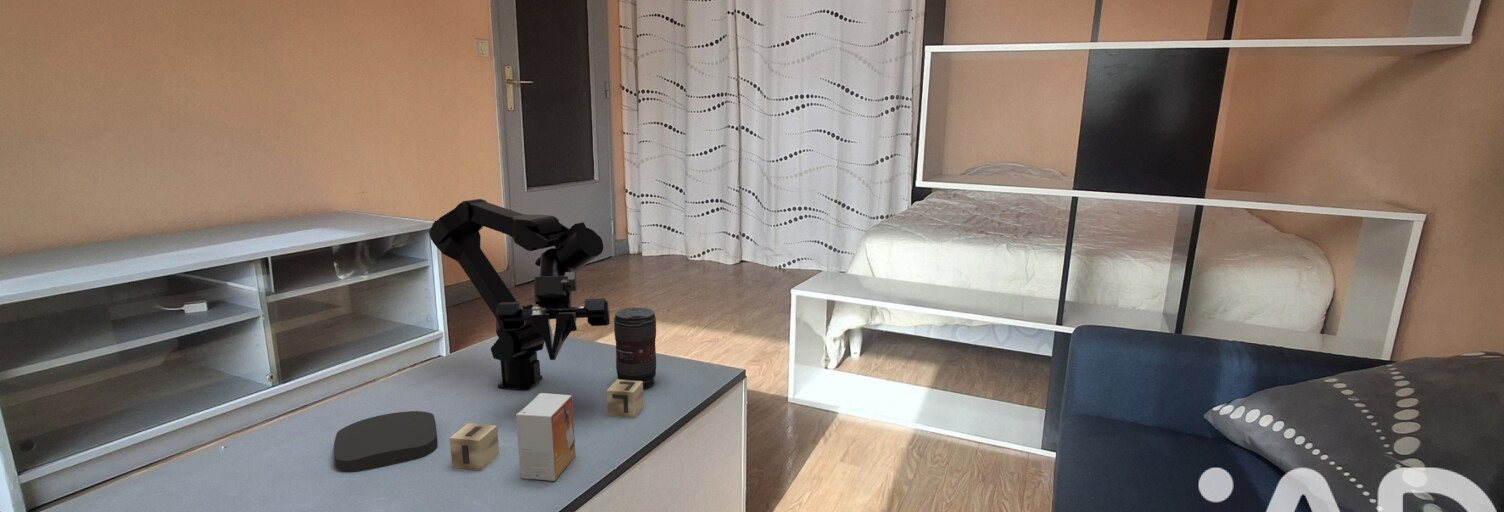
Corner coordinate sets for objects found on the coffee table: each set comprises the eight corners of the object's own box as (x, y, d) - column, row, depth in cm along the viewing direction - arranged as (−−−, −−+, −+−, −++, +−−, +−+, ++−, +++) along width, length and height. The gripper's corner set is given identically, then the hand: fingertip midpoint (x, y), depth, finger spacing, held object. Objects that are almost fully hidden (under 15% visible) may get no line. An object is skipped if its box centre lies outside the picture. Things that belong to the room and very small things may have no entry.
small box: (555, 482, 101) (550, 417, 99) (519, 479, 102) (514, 414, 99) (576, 455, 109) (573, 394, 106) (543, 452, 109) (539, 391, 107)
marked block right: (607, 416, 122) (606, 389, 121) (618, 404, 127) (617, 378, 126) (634, 418, 121) (633, 392, 120) (643, 406, 126) (642, 380, 125)
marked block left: (451, 468, 105) (448, 437, 104) (470, 451, 110) (468, 422, 109) (481, 471, 104) (478, 440, 103) (499, 454, 109) (496, 424, 108)
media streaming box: (333, 479, 102) (330, 461, 102) (339, 437, 115) (337, 421, 114) (440, 456, 109) (438, 439, 108) (434, 419, 121) (432, 404, 121)
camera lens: (662, 388, 134) (660, 315, 131) (621, 394, 131) (618, 320, 128) (652, 373, 141) (649, 304, 138) (613, 379, 138) (609, 308, 135)
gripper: (492, 257, 115) (483, 341, 107) (605, 253, 118) (605, 335, 110) (505, 289, 124) (498, 369, 116) (609, 285, 127) (609, 363, 119)
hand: (552, 359), depth 115 cm, fingers closed
